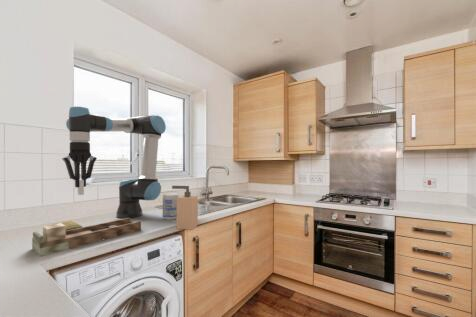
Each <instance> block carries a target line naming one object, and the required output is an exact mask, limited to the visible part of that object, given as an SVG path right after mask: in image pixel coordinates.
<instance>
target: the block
mask: <svg viewBox="0 0 476 317" xmlns="http://www.w3.org/2000/svg"><path fill="white" fill-rule="evenodd" d="M58 223H59V224H56V223H53V224H54V225H53V224H50V225H43V226H42V236H43V242H50V241H54V240H59V239H63V238H66V226H65V225H63V224H62V222H58Z"/></svg>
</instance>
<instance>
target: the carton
mask: <svg viewBox="0 0 476 317" xmlns="http://www.w3.org/2000/svg"><path fill="white" fill-rule="evenodd" d="M59 223H60V222H57V223H53V224H52V225H54V224H59ZM61 223H62V224H63V225H65V226H66V231H67V230H72V229H77V228H82V227H83V226H82V225H80V224H79V223H76V222H75V221H73V220H69V221H63V222H61Z"/></svg>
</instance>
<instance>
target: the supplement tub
mask: <svg viewBox="0 0 476 317" xmlns="http://www.w3.org/2000/svg"><path fill="white" fill-rule="evenodd" d="M178 197H180V195H179V193H175V192H173V193H172V192H171V193H168V192H167V193H164V194H162V219H163V220H167V221H170V220H177V198H178Z"/></svg>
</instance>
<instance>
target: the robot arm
mask: <svg viewBox="0 0 476 317" xmlns="http://www.w3.org/2000/svg"><path fill="white" fill-rule="evenodd" d="M65 124H66V128H67V129H68V130H69V141H70V142H69V153H68V155H67V156H66V157H65V156H64V157H62V161H63V162H64V163H65V167H66V169H67V170H66V171H67V172H68V176H69V179H70V180H74V186H75V188H77V195H79V196H81V195H82V196H83V195H84V194H85V193H84V192H85V189H84V188H85V187H86V186H87V180H88V179H90V178H91V177H92V174H93V169H94V165H95V162H96V160H97V158H98V157H95V156H93V155H92V152H91V143H90V141H91V134H90V133H92V132H94V133H95V132H98V133H99V132H102V133H103V132H104V133H105V132H106V133H107V132H124V133H126V134H137V135H141V136H142V137H143V138H144V139H143V150H142V162H141V174H140V176H139V177H138V178H135V179H134V178H133V179H124V180H121V181H120V182H119V185H118V191H119V192H118V193H119V194H118V195H119V196H118V197H119V202H118V203H119V204H118V207H117V210H116V215H115V216H116V218H118V219H125V218H130V219H131V218H136V217H140V216H142V215H143V209H142V207H141V204H140V201H147V202H148V201H154V200H156V199H158V197H160V195H161V192H162V185H161V183H160V182H158V181H159V179H158V178H157V174H156V173H157V162H158V148H159V140H160V139H161V138H162V134H165V131H166V128H167V126H166V122H165V120H164V118H163V117H161V116H160V115H154V114H153V115H144V116H135V117H124V118H111V117H108V116H106V115H100V114H94V113H93V114H92V113H90V109H89V108H88V107H85V106H71V107H69V111H68V119H67V120H66V121H65ZM71 160H72V162H73V165H74V169H73V166H72V163H71ZM88 160H89V163H88V164H87V162H88ZM87 165H88V166H87Z"/></svg>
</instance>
